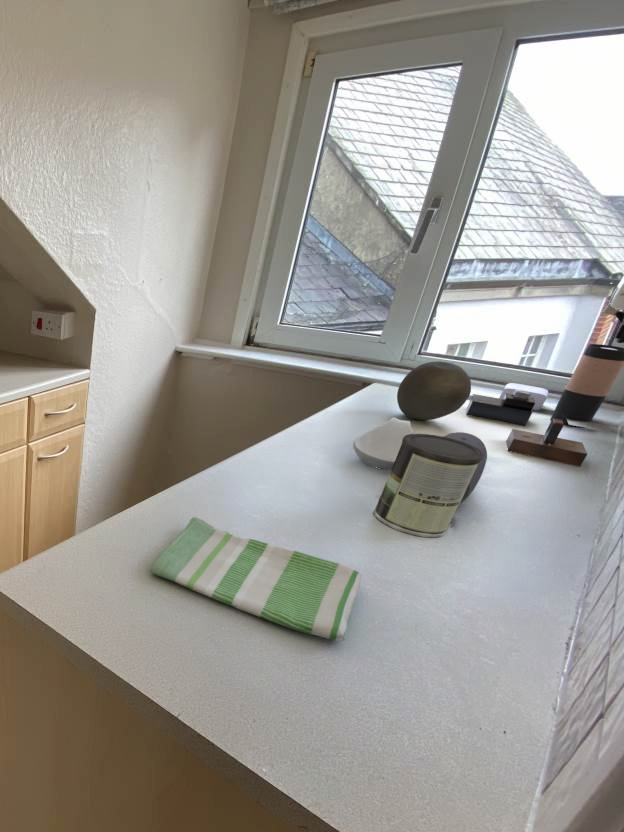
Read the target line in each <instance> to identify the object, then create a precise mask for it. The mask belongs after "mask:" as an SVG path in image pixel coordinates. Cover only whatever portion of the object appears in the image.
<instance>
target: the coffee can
mask: <svg viewBox="0 0 624 832" xmlns="http://www.w3.org/2000/svg"><path fill="white" fill-rule="evenodd" d="M443 436H444V435H437V434H429V433H413V434H408V435H406V436H404V437H403V440H402V445H401V447H400V450H399V452H398V455H397V457H396V460H395V462H394V465H393V467H392V470H390V472H389V475H388V477H387V479H386V482H385V485H384V487H383V489H382V492H381V494H380V497H379V499H378V500H377V501H378V502H377V504H376V506H375V509H374V510H373V514H375V515H374V516H375V518H376V517H377V518H378V519H379V520H378V519H377V518H376V519H377V520H378V521H380V522H381V521H382V522H383V523H382V522H381V523H382V524H384V525H386V526H387V525H388V527H389V528H392V529H394V530H396V531H399V532H401V533H405V534H407V535H412V536H416V537H423V538H439V536H440V537H444V536H445V535H446V534H447V530H448V528H449V526H450V524H451V523H452V520H453V518H454V516H455V514H456V512H457V510H458V508H459V506H460V504H461V503H460V502H461V500H462V498H463V496H464V494H465V492H466V489H467V487H468V486H469V483H470V481H471V479H472V477H473V475H474V473H475V471H476V469H477V467H478V465H479V463H480V461H481V460H482V459H483V457H484V453H483V452H482V451H481V450H479V449H478V448H476V447H474V446H472V445H470V444H467V443H465V442H462V441H458V440H455V439H451V438H447V437H443Z"/></svg>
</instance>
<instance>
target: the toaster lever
mask: <svg viewBox="0 0 624 832" xmlns="http://www.w3.org/2000/svg"><path fill="white" fill-rule="evenodd" d="M529 396H530V392H528V391H522V390H515V392H514V394H513V396H512V398H516V399H522V400H528V398H529Z"/></svg>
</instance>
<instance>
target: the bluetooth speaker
mask: <svg viewBox="0 0 624 832" xmlns="http://www.w3.org/2000/svg"><path fill="white" fill-rule="evenodd" d="M442 436H443V437H447V438H451V439H455V440H458V441H462V442H465V443H467V444H470V445H472V446H474V447H476V448H478V449H479V450H481V451H482V452H483V453H484V457H483V459H482V460H481V461H480V463H479V465H478V467H477V469H476V471H475V473H474V475H473V477H472V479H471V481H470V483H469V486H468V487H467V489H466V492H465V494H464V496H463V498H462V500H461V502H460V504H462V503H463V502H464V501H466V499H468V498H469V497H470V495H471V494H472V493H473V492H474V490H475V488H476V486H477V485H478V483H479V481H480V479H481V478H482V475H483V473H484V470H485V468H486V464H487V459H488V451H487V447H486V445H485V443H484V441H482V440H481V438H479V437H477V436H476V435H474V434H471V433H468V432H461V431H460V432H451V433H448V434H445V435H442Z"/></svg>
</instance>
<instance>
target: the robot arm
mask: <svg viewBox="0 0 624 832" xmlns="http://www.w3.org/2000/svg"><path fill="white" fill-rule="evenodd" d="M603 313H604V314H606V315H610V316H612V317H616V319H617V320H618V321H619V322H620V325H619V327H618V329H617V331H616V333H615V335H614V339H616V342H617V344H624V275H623V276H622V278H621V279H620V281H619V283H618V284H617V286H616V288H615V289H614V291H613V293H612V294H611V296H610V299H609V301H608V305H606V307H605V308H604V309H603Z"/></svg>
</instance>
